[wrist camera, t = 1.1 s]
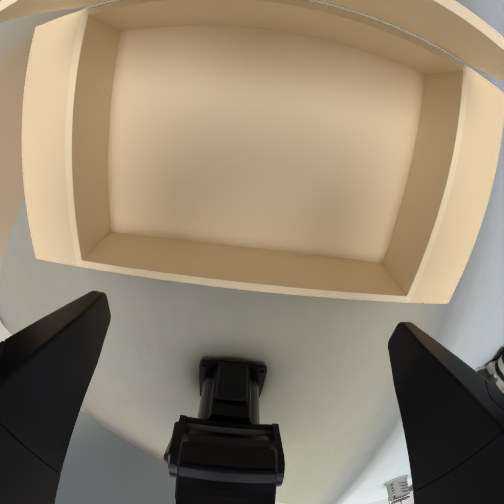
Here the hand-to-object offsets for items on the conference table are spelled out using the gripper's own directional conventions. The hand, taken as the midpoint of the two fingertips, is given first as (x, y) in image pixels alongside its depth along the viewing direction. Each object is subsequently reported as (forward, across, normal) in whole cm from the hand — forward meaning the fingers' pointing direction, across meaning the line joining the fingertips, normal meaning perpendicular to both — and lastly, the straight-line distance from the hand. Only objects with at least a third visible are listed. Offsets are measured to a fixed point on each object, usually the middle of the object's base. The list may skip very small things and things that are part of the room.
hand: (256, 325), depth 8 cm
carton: (+12, 0, -4) cm, 13 cm away
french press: (+12, -62, +88) cm, 108 cm away
